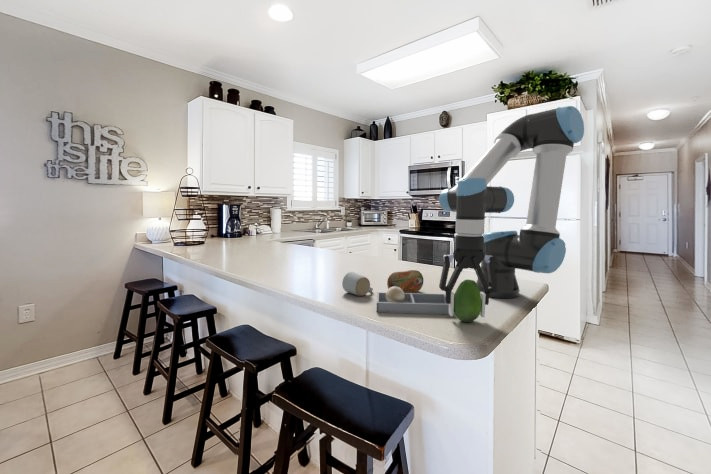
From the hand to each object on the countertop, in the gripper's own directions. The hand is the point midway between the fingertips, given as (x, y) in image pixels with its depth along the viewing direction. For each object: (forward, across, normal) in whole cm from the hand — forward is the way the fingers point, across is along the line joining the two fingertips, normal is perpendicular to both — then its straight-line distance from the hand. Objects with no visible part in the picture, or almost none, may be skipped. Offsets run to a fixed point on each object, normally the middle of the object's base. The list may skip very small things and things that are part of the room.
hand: (466, 315), depth 93 cm
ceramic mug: (+2, +32, -26) cm, 41 cm away
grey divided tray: (+2, +14, -11) cm, 18 cm away
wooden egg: (-2, +20, -11) cm, 22 cm away
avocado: (+2, 0, 0) cm, 2 cm away
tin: (+2, +15, -28) cm, 32 cm away
